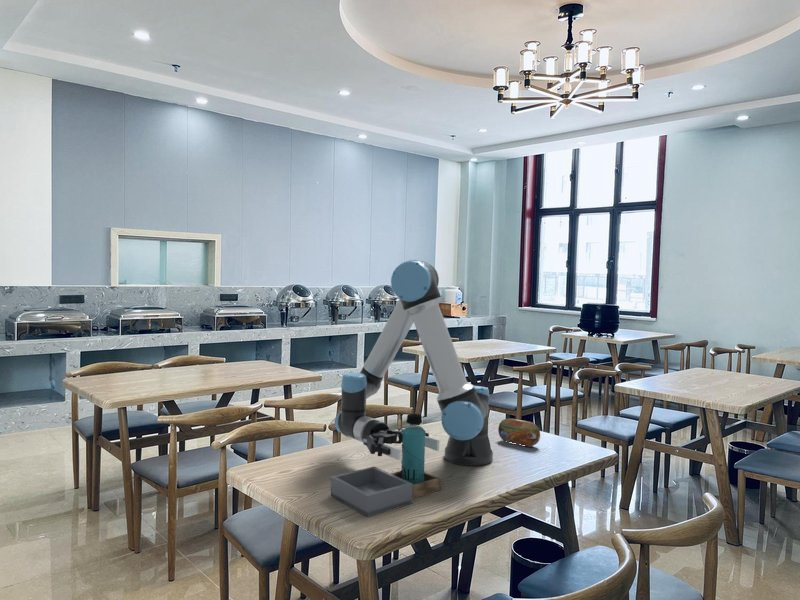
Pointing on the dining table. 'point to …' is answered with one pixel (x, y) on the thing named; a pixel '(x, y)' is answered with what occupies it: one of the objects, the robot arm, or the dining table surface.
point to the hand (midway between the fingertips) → (419, 450)
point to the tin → (519, 432)
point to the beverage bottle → (413, 450)
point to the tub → (371, 490)
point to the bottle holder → (424, 484)
